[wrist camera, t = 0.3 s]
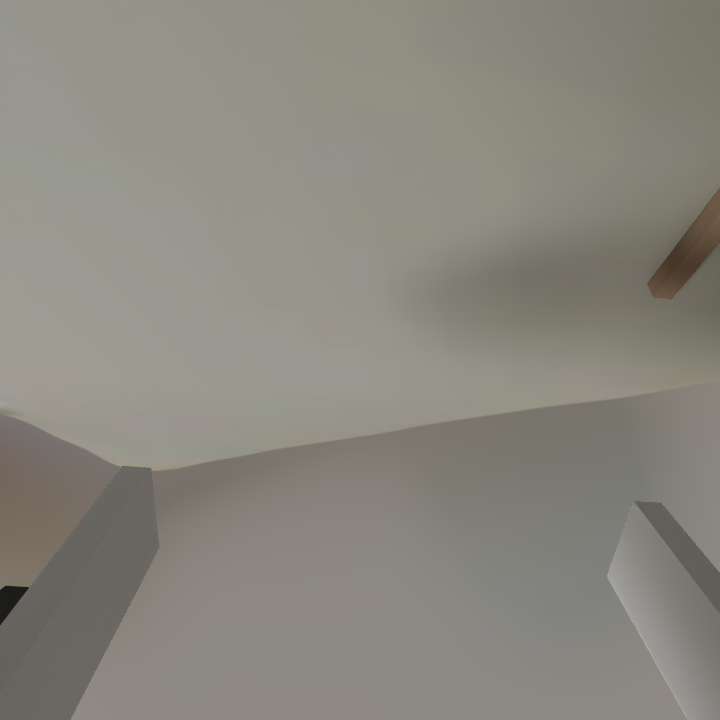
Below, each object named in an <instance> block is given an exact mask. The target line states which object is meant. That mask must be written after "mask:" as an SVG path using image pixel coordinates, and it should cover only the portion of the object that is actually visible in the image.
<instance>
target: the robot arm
mask: <svg viewBox="0 0 720 720" xmlns="http://www.w3.org/2000/svg"><path fill="white" fill-rule="evenodd" d="M158 549H159V539H158V530H157V521H156V510H155V501H154V491H153V481H152V473H151V468H145V467H130V466H122V467H121V468H120V470H119V471H118V472H117V474H116V475H115V476H114V478H113V479H112V480H111V482H110V483H109V484H108V485H107V487H106V488H105V489H104V491H103V492H102V493H101V495H100V496H99V497H98V498H97V500H96V501H95V502H94V504H93V505H92V506H91V508H90V509H89V510H88V512H87V513H86V514H85V515H84V517H83V518H82V519H81V521H80V522H79V523H78V525H77V526H76V527H75V529H74V530H73V531H72V532H71V534H70V535H69V536H68V538H67V539H66V540H65V542H64V543H63V544H62V546H61V547H60V548H59V549H58V551H57V552H56V553H55V555H54V556H53V558H52V559H51V560H50V561H49V563H48V564H47V565H46V567H45V568H44V569H43V570H42V572H41V573H40V574H39V576H38V577H37V579H36V580H35V581H34V582H33V583H32V585H31V586H30V587H15V586H5V587H3V588H2V589H1V590H0V720H70V719H71V717H72V716H73V714H74V712H75V710H76V708H77V706H78V704H79V702H80V700H81V698H82V696H83V694H84V692H85V690H86V688H87V686H88V685H89V683H90V681H91V678H92V677H93V675H94V673H95V671H96V669H97V667H98V665H99V663H100V661H101V659H102V657H103V656H104V653H105V652H106V650H107V648H108V646H109V644H110V642H111V640H112V638H113V636H114V634H115V632H116V630H117V628H118V627H119V625H120V623H121V621H122V619H123V617H124V615H125V613H126V611H127V609H128V607H129V605H130V603H131V601H132V599H133V597H134V596H135V594H136V592H137V590H138V588H139V586H140V584H141V582H142V580H143V578H144V576H145V574H146V572H147V570H148V568H149V567H150V565H151V562H152V561H153V559H154V557H155V555H156V553H157V551H158ZM607 577H608V580H609V581H610V583H611V585H612V587H613V588H614V590H615V592H616V593H617V595H618V597H619V599H620V601H621V603H622V604H623V606H624V608H625V610H626V611H627V613H628V615H629V617H630V618H631V620H632V622H633V624H634V626H635V627H636V629H637V631H638V633H639V635H640V636H641V638H642V640H643V642H644V643H645V645H646V647H647V649H648V650H649V652H650V654H651V656H652V658H653V659H654V661H655V663H656V665H657V667H658V668H659V670H660V672H661V674H662V675H663V677H664V679H665V681H666V683H667V684H668V686H669V688H670V690H671V691H672V693H673V695H674V697H675V699H676V700H677V702H678V704H679V706H680V707H681V709H682V711H683V713H684V715H685V716H686V718H687V720H720V573H719V571H718V570H717V569H716V568H715V567H714V566H713V564H712V563H711V562H710V561H709V559H708V558H707V557H706V556H705V555H704V553H703V552H702V551H701V550H700V549H699V548H698V546H697V545H696V544H695V543H694V542H693V540H692V539H691V538H690V537H689V536H688V534H687V533H686V532H685V531H684V530H683V528H682V527H681V526H680V525H679V524H678V523H677V521H676V520H675V519H674V518H673V516H672V515H671V514H670V513H669V512H668V510H667V509H666V508H665V507H664V506H663V505H662V503H656V502H641V501H634V502H633V504H632V507H631V510H630V513H629V516H628V518H627V521H626V524H625V527H624V530H623V533H622V535H621V538H620V542H619V544H618V547H617V550H616V553H615V555H614V558H613V561H612V564H611V566H610V570H609V572H608V575H607Z"/></svg>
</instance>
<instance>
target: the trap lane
mask: <svg viewBox="0 0 720 720" xmlns="http://www.w3.org/2000/svg"><path fill="white" fill-rule="evenodd" d="M719 242H720V189H719V190H718V192H717V193H716V194H715V196H714V197H713V198H712V200H711V201H710V202H709V204H708V205H707V206H706V208H705V209H704V210H703V211H702V213H701V214H700V215H699V217H698V218H697V219H696V221H695V222H694V223H693V225H692V226H691V227H690V229H689V230H688V231H687V233H686V234H685V235H684V237H683V238H682V239H681V240H680V242H679V243H678V244H677V246H676V247H675V248H674V250H673V251H672V252H671V254H670V255H669V256H668V258H667V259H666V260H665V262H664V263H663V264H662V265H661V267H660V268H659V269H658V271H657V272H656V273H655V275H654V276H653V277H652V279H651V280H650V281H649V283H648V286H649V288H650V291H651V293H652V295H653V297H654V298H668V299H672V298H673V297H674V295H675V294H676V293H677V292H678V291H679V290H680V288H681V287H682V286H683V285H684V284H685V282H686V281H687V280H688V279H689V278H690V277H691V275H692V274H693V273H694V272H695V271H696V269H697V268H698V267H699V266H700V265H701V263H702V262H703V261H704V260H705V259H706V258H707V256H708V255H709V254H710V253H711V252H712V250H713V249H714V248H715V247H716V246H717V244H718V243H719Z"/></svg>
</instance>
